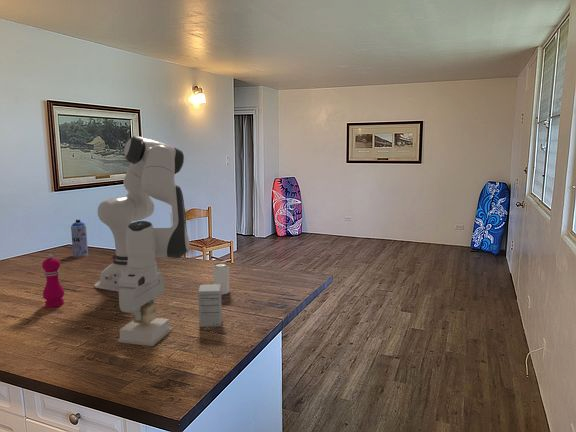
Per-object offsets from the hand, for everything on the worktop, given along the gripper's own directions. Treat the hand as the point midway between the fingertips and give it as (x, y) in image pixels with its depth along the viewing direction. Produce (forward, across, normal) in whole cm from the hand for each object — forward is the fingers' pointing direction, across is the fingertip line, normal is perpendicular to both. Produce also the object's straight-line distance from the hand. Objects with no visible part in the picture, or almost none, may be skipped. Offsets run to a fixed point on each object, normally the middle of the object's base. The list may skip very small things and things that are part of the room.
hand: (144, 315), depth 139 cm
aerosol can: (+7, -86, -92) cm, 126 cm away
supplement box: (+7, -15, +16) cm, 23 cm away
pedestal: (+7, 0, 0) cm, 7 cm away
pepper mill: (+7, -17, -49) cm, 52 cm away
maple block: (+2, 0, 0) cm, 2 cm away
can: (+7, -45, +8) cm, 46 cm away
